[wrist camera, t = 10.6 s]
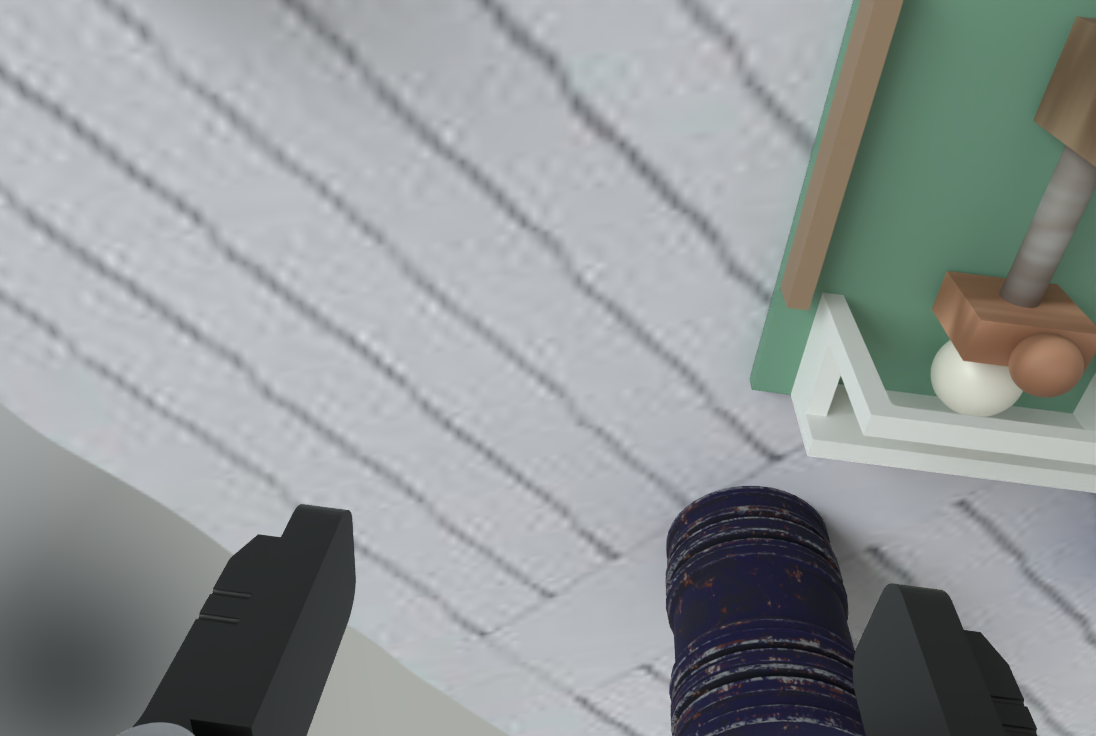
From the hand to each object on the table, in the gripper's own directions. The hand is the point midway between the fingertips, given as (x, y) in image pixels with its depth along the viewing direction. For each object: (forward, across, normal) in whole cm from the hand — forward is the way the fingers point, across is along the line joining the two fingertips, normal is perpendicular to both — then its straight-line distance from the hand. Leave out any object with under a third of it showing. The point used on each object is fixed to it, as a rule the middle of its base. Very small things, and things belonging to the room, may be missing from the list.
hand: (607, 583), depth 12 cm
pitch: (+28, -18, +4) cm, 34 cm away
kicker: (+27, -18, +2) cm, 32 cm away
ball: (+25, -18, +10) cm, 33 cm away
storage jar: (+28, -11, +26) cm, 40 cm away
